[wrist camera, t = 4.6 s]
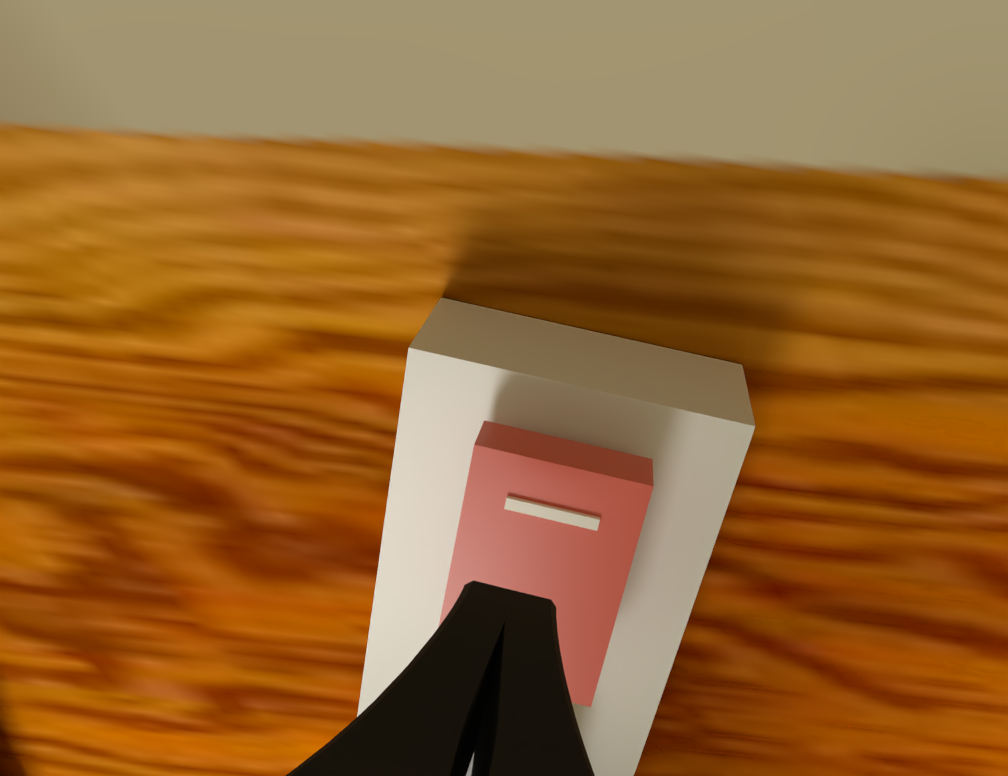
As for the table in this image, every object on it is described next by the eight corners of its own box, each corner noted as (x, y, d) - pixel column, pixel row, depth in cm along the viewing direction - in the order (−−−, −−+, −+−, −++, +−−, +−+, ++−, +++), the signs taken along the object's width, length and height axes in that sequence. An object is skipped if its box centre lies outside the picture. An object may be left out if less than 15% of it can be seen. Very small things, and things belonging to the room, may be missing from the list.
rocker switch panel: (440, 297, 20) (408, 347, 18) (742, 364, 20) (755, 426, 17) (371, 751, 27) (340, 837, 25) (596, 808, 27) (589, 903, 24)
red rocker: (484, 420, 18) (473, 446, 17) (652, 458, 18) (653, 488, 16) (442, 632, 20) (429, 670, 18) (593, 669, 19) (590, 710, 18)
